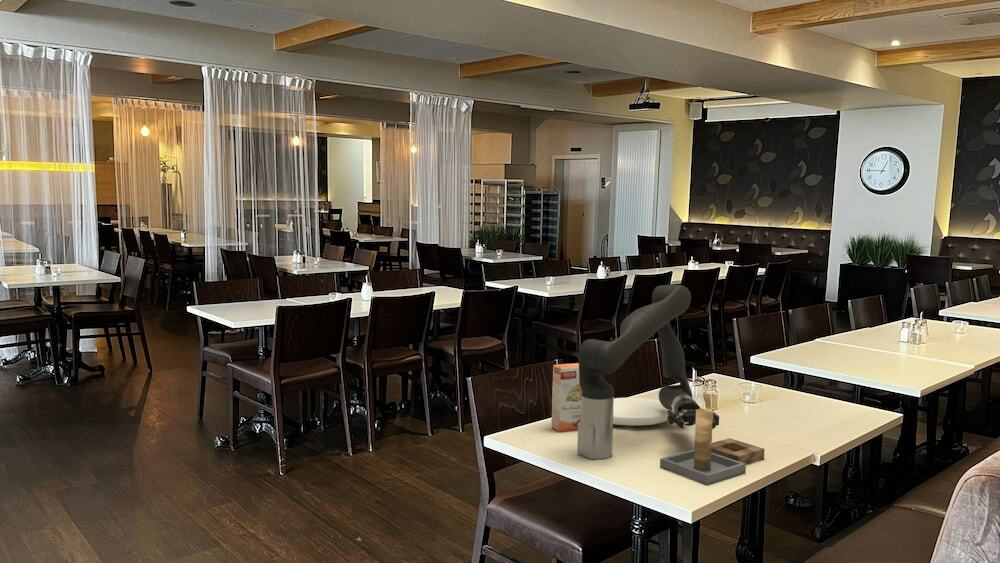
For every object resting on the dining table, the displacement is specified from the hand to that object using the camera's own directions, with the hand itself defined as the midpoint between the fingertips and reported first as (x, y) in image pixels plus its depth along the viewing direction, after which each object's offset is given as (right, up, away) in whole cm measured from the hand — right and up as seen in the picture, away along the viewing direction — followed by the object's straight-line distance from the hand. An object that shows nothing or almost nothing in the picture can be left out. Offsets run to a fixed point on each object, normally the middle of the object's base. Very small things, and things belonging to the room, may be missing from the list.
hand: (697, 425), depth 208 cm
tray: (0, -11, -6) cm, 13 cm away
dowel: (0, -11, -6) cm, 12 cm away
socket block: (+11, -10, +5) cm, 16 cm away
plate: (-11, -7, +43) cm, 45 cm away
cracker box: (-31, -7, +32) cm, 45 cm away
